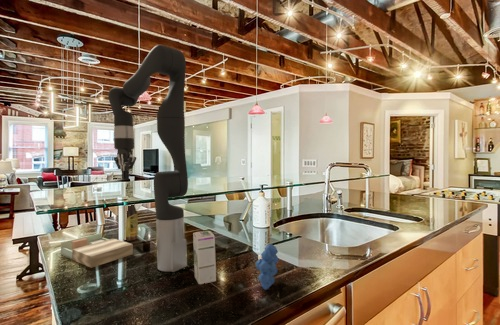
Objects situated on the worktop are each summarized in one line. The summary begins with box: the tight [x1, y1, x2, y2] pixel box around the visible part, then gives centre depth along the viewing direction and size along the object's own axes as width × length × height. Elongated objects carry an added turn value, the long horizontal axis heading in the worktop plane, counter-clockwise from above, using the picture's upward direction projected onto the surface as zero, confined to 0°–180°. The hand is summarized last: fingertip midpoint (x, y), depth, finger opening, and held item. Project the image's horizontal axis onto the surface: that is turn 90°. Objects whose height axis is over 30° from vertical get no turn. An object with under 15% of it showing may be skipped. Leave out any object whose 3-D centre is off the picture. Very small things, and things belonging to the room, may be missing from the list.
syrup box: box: [192, 230, 217, 285], centre depth 88 cm, size 6×6×14 cm
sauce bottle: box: [126, 204, 139, 242], centre depth 131 cm, size 7×6×20 cm
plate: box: [72, 238, 134, 269], centre depth 109 cm, size 14×16×4 cm
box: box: [60, 232, 110, 261], centre depth 116 cm, size 10×16×5 cm, turn 145°
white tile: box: [89, 240, 104, 245], centre depth 120 cm, size 5×5×2 cm
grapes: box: [254, 243, 280, 290], centre depth 83 cm, size 12×7×12 cm, turn 157°
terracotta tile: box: [72, 238, 88, 249], centre depth 113 cm, size 5×5×2 cm
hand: (125, 179), depth 117 cm, fingers closed
